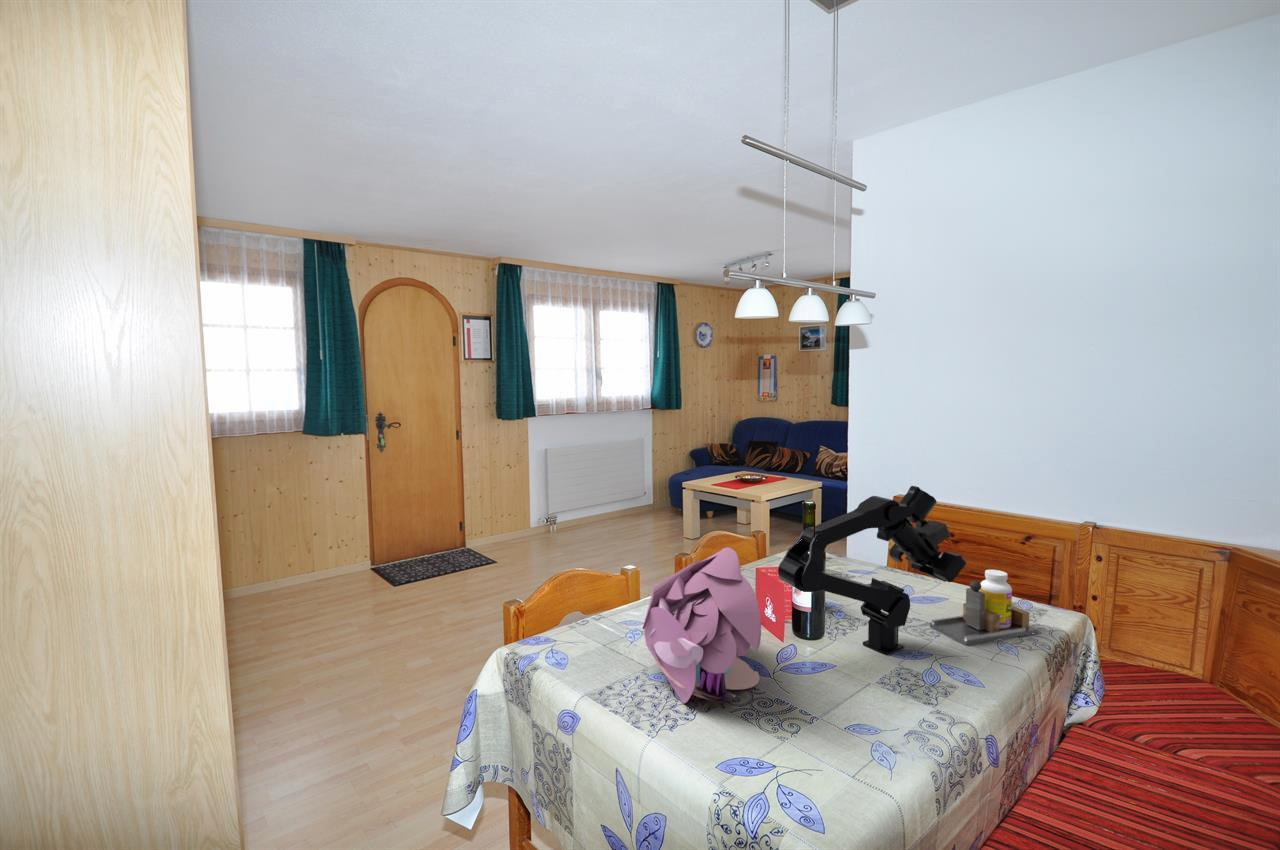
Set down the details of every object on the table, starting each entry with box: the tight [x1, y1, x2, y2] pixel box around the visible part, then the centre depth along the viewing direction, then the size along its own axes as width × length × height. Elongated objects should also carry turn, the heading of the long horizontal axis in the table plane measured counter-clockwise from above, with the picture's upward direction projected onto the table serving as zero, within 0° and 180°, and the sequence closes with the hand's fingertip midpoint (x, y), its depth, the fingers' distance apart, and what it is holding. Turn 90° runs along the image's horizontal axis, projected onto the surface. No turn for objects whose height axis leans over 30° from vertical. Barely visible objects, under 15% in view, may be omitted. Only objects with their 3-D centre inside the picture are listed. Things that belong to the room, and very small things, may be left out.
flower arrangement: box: [642, 547, 762, 704], centre depth 121 cm, size 35×24×28 cm
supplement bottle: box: [979, 569, 1013, 629], centre depth 143 cm, size 7×7×13 cm
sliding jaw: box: [962, 580, 1000, 632], centre depth 141 cm, size 4×9×11 cm, turn 16°
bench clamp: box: [929, 605, 1038, 646], centre depth 142 cm, size 21×11×5 cm, turn 106°
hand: (945, 579), depth 138 cm, fingers closed
